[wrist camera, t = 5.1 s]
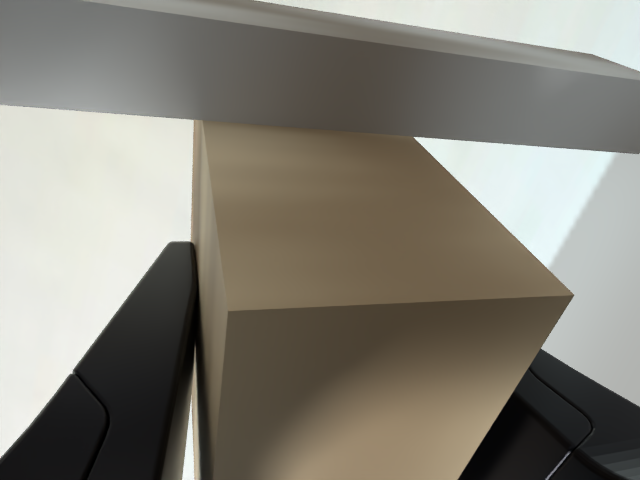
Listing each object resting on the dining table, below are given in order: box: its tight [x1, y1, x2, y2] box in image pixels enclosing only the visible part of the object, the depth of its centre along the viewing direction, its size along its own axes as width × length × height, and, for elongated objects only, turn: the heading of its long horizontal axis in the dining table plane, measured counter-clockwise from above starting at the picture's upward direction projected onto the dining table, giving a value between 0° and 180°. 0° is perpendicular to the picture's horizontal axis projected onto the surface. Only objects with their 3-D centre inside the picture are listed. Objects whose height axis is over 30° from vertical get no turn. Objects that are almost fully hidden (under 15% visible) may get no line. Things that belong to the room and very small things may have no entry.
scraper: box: [0, 0, 640, 480], centre depth 7 cm, size 12×7×6 cm, turn 79°
